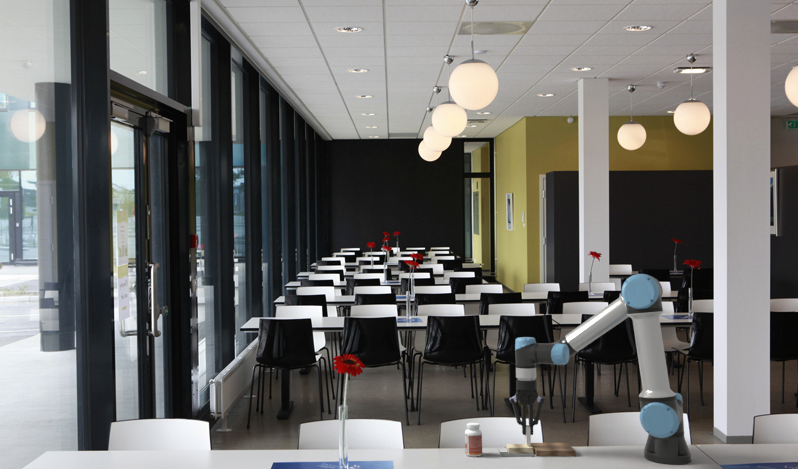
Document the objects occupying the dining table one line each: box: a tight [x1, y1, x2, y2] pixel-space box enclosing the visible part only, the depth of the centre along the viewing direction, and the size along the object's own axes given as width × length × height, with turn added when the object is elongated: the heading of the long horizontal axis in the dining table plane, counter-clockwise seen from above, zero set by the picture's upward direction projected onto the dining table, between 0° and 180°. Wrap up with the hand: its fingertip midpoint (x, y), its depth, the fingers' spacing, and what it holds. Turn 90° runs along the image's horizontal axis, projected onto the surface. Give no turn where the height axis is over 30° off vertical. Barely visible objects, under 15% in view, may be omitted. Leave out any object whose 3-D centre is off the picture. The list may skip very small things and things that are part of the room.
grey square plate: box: [499, 452, 536, 458], centre depth 224 cm, size 12×12×1 cm
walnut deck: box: [531, 442, 577, 457], centre depth 224 cm, size 14×12×2 cm
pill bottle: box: [464, 422, 483, 458], centre depth 222 cm, size 6×6×11 cm
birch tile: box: [505, 443, 535, 455], centre depth 224 cm, size 9×6×2 cm, turn 89°
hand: (528, 443), depth 225 cm, fingers closed
